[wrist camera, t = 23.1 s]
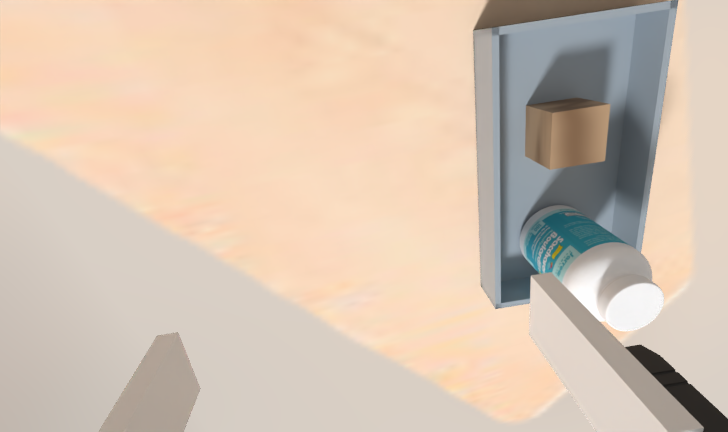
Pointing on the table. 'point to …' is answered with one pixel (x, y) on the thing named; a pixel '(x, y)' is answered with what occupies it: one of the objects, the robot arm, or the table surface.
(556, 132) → the walnut cube
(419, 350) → the table surface
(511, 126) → the tote
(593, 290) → the pill bottle
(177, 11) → the table surface
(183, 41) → the table surface
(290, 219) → the table surface
